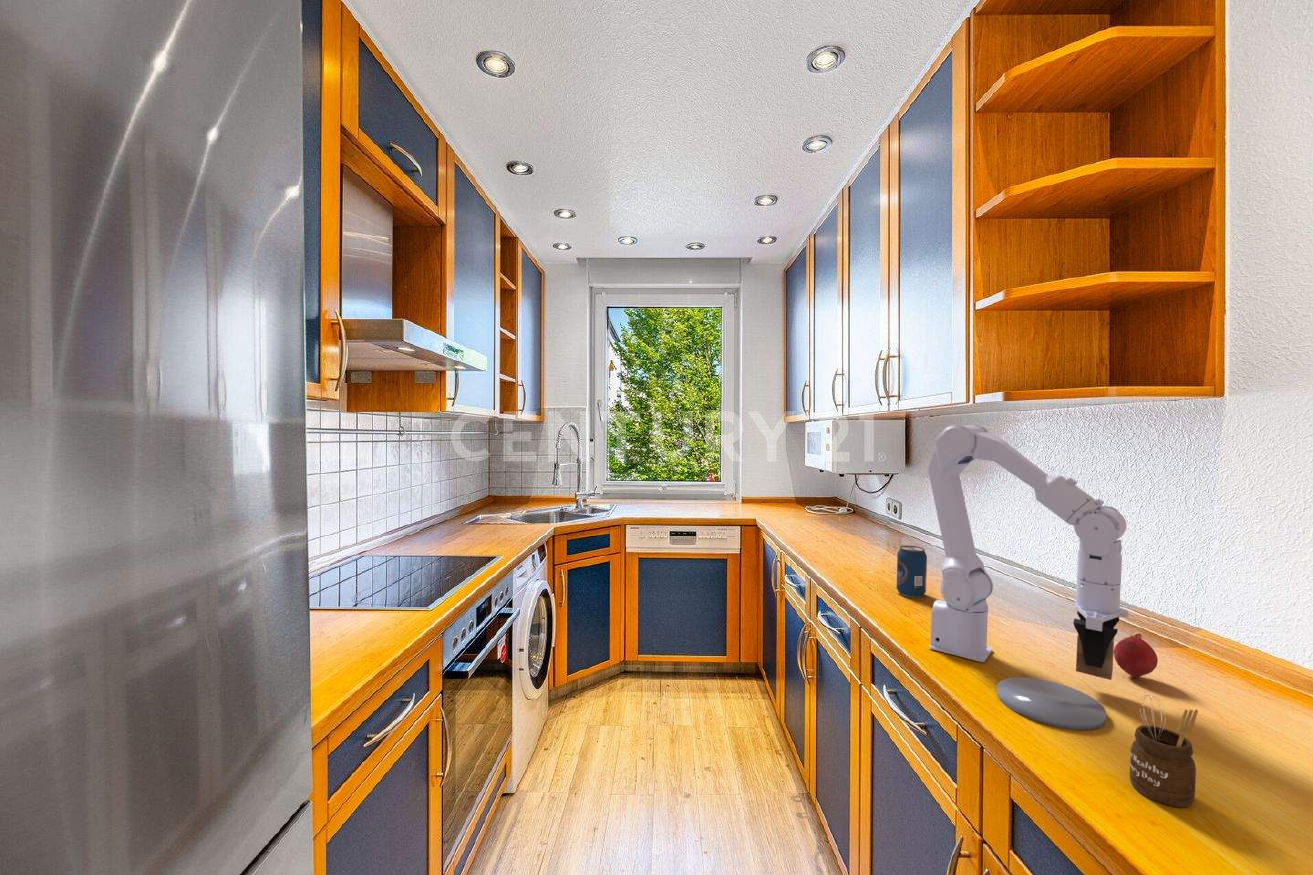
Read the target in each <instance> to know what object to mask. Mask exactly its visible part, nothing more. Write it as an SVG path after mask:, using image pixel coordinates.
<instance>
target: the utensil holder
mask: <svg viewBox="0 0 1313 875" xmlns="http://www.w3.org/2000/svg"><path fill="white" fill-rule="evenodd" d="M1148 697H1150V698H1149V699H1150V700H1149V701H1150V703H1149V704H1152V702H1153V701H1152V700H1153V699H1152V698H1155V700H1156V702H1157V703H1158V706H1159V713H1160V721H1161V722H1160V723H1161V724H1160V726H1156V725H1155V722H1153V723H1152V725H1149V722H1148V720H1147V716H1146V715H1145V714H1146V711H1145V709H1142V712H1141V709H1139V713H1140V714H1142V713H1143V714H1142V715H1140V716H1141V720H1142V722H1143V723H1144V725H1139V726H1137V727H1136V729H1135V732H1134V738H1135V740H1134V741H1133V742H1132V744H1131V746H1130V753H1129V754H1130V756H1129V781H1130V783H1131V785H1132V787H1133V788H1134V789H1135V790H1137V792H1139V793H1140V794H1142V795H1143V796H1145V797H1146V798H1148V799H1151V800H1153V801H1155V802H1157V803H1160V804H1163V805H1167V806H1169V807H1170V806H1171V807H1175V808H1176V807H1177V808H1188V807H1190V806H1192V805H1193V803H1194V801H1195V797H1196V796H1195V795H1196V780H1197V767H1196V763H1195V761H1194V758H1193V757H1192V756H1193V754H1194V750H1193V744H1192V743H1191V741H1190V740H1189V739H1187V738H1186V737H1185V736H1186V735H1187V734H1189V733H1191V732H1192V731H1193V728H1194V725H1195V722H1196V720H1197V715H1198V713H1199V710H1198V709H1194V710H1193V709H1189V711H1188V709H1184V711H1183V713H1182V716H1181V718H1180V721H1179V723H1178V726H1177V729H1176V730H1177V732H1175V731H1173V730H1170V729H1166V728H1165V725H1166V722H1164V724H1163V727H1162V723H1163V713H1164V714H1166V712H1165V711H1166V710H1165V709H1163V713H1162V707H1163V708H1165V707H1164V704H1163V702H1162V701H1160V699H1158V697H1156V696H1155V695H1153V694H1145V695H1144V696H1142V697H1140V699H1139V701H1141V700H1142V698H1143V700H1142V706H1145V699H1146V698H1148ZM1161 704H1162V705H1161ZM1150 710H1151V712H1150V713H1152V715H1151V720H1152V721H1154V719H1155V714H1154V713H1153V710H1154V707H1153V705H1151V707H1150ZM1143 715H1144V716H1143ZM1164 721H1166V718H1164ZM1178 732H1179V733H1178Z"/></svg>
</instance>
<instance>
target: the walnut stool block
mask: <svg viewBox="0 0 1313 875" xmlns="http://www.w3.org/2000/svg"><path fill="white" fill-rule="evenodd" d="M1076 638H1077V641H1076V663H1075V671H1076V672H1078V673H1080V674H1081V673H1082V674H1085V675H1089V676H1092V677H1093V676H1094V677H1098V678H1100V679H1104V680H1105V679H1106V680H1109V681H1112V678H1113V671H1114V670H1113V669H1114V648H1115V637H1114V638H1113V639H1112V641H1111V642H1110V644H1109V646H1108V649H1107V653H1106V657H1105V660H1104V664H1103V666H1102V668H1098V667H1094V666H1090V665H1086V663H1085V660H1084V655H1083V649H1082V644H1081V640H1080V637H1079V635H1078V634H1077V636H1076Z"/></svg>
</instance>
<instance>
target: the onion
mask: <svg viewBox="0 0 1313 875" xmlns="http://www.w3.org/2000/svg"><path fill="white" fill-rule="evenodd" d="M1142 637H1143V635H1142V634H1141V633H1140V632H1134V633H1132V634H1131V635H1130V636H1128V637H1125V638H1123V639H1121V640H1120V641H1118V642H1117V643H1116V645H1114V653H1113V659H1114V661H1115V662H1116V664H1117V665H1118V666H1119V667H1120V669H1121V670H1123V671H1124V672H1125V673H1126V674H1127V675H1129V676H1130V677H1131V678H1135V679H1138V678H1140V677H1143V676H1146V675H1149V674H1150V673H1153V672H1154V670H1155V669H1156V668H1157V666H1158V663H1159V662H1158V656H1157V653H1156V652H1155V650H1154V648H1153V647H1152V646H1151V645H1150V644H1149V643H1148V642H1147V641H1145V640H1144V639H1142Z"/></svg>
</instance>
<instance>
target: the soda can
mask: <svg viewBox="0 0 1313 875" xmlns="http://www.w3.org/2000/svg"><path fill="white" fill-rule="evenodd" d="M925 551H926V550H925V548H923V547H921V546H918V545H917V546H916V545H900V546H899V550H898V551H897V555H896V559H897V560H896V565H897V566H896V590H897V591H898V593H899V594H900V595H901V596H904V597H907V598H913V599H915V598H916V599H917V598H922V597H924V595H925V594H926V592H927V570H928V568H927V567H928V565H927V564H928V556H927V553H926V552H925Z"/></svg>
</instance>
